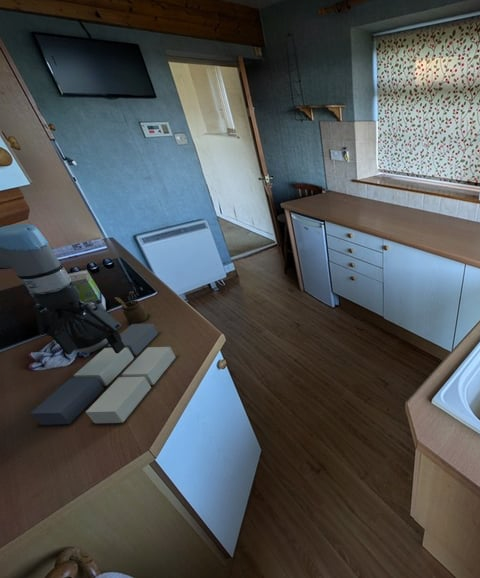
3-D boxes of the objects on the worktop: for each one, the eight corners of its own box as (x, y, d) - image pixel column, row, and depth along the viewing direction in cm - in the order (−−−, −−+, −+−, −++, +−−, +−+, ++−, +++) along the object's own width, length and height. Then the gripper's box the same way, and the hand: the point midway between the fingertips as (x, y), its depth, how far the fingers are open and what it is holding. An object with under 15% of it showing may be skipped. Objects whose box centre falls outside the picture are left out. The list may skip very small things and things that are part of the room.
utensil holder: (152, 315, 112) (138, 288, 106) (138, 325, 107) (123, 297, 101) (137, 314, 113) (123, 287, 107) (123, 324, 107) (108, 296, 101)
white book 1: (81, 386, 83) (73, 375, 81) (111, 358, 93) (104, 347, 90) (107, 385, 83) (99, 374, 81) (134, 358, 93) (127, 347, 90)
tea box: (106, 300, 121) (87, 268, 113) (106, 311, 114) (86, 278, 107) (55, 314, 112) (31, 280, 105) (53, 326, 106) (27, 292, 98)
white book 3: (128, 385, 84) (121, 374, 81) (153, 357, 93) (147, 347, 91) (153, 384, 84) (147, 373, 81) (175, 357, 93) (170, 346, 91)
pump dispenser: (65, 354, 94) (37, 316, 86) (101, 334, 102) (77, 298, 95) (88, 361, 91) (60, 322, 84) (122, 340, 100) (100, 303, 92)
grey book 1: (40, 424, 73) (29, 413, 71) (78, 389, 82) (70, 378, 80) (69, 424, 73) (59, 412, 71) (104, 388, 82) (96, 377, 80)
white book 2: (94, 423, 73) (85, 412, 71) (126, 388, 83) (118, 377, 80) (123, 422, 73) (114, 411, 71) (151, 387, 83) (144, 376, 81)
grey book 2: (113, 356, 93) (107, 345, 91) (137, 334, 103) (132, 323, 100) (136, 355, 94) (130, 345, 91) (157, 333, 103) (152, 323, 101)
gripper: (-17, 296, 69) (38, 361, 80) (91, 294, 70) (131, 358, 81) (16, 280, 75) (63, 342, 86) (115, 278, 76) (149, 340, 87)
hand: (96, 350), depth 84 cm, fingers open, 13 cm apart
